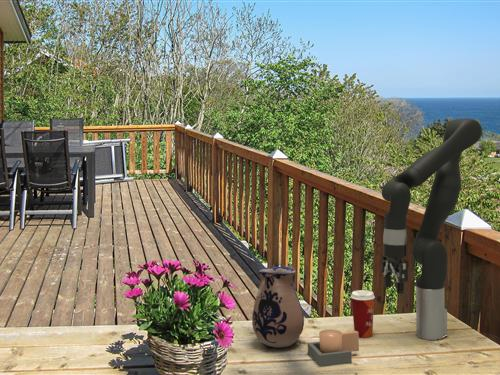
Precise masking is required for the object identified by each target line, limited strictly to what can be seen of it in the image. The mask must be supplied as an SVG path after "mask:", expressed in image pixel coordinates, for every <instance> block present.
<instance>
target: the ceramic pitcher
mask: <svg viewBox="0 0 500 375" xmlns="http://www.w3.org/2000/svg"><path fill="white" fill-rule="evenodd" d="M257 273H258V274H259V277H260V278H259V279H260V282H259V286H258V290H257V293H256V296H255V297H256V298H255V300H254V304H253V310H252V316H251V323H252V324H251V325H252V329H253V332H254V335H255V336H256V338H257V339H258V340H259V341H260V342H261V343H262V344H264V345H266V346H267V347H270V348H277V349H278V348H281V349H282V348H288V347H291V346H292V345H293V344H294V343H296V342H297V341H298V340H299V338H300V336H301V335H302V333H303V330H304V327H305V317H304V312H303V308H302V304H301V302H300V299H299V297H298V293H297V291H296V290H297V274H296V273H297V271H296V269H295V268H294V266H292V265H285V266H270V267H265V268H261V269H259V270H258V271H257Z"/></svg>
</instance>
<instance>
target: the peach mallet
mask: <svg viewBox="0 0 500 375" xmlns="http://www.w3.org/2000/svg"><path fill="white" fill-rule="evenodd" d="M318 334H319V339H318V340H319V341H318V342H320V352H321V353H322V354H324V353H332V352H340V351H348V350H350V351H351V353H353V352H359V351H360V348H359V347H360V346H359V345H360V341H359V339H360V338H359V332H357V331H354V330H351V331H343V332H342V331H340V330H337V329H332V328H331V329H330V328H329V329H324V330H320V331H319V333H318Z"/></svg>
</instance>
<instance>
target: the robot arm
mask: <svg viewBox="0 0 500 375" xmlns="http://www.w3.org/2000/svg"><path fill="white" fill-rule="evenodd" d="M482 135H483V128H482V125H481V123H480V122H479V121H478V120H476V119H473V118H456V119H453V120H451V121H450V122H448V124H447V125H446V127H445V129H444V134H443V139H442V143H441V144H440V145H438V146H437V147H435V148H433V149H432V150H430V151H428V152H426V153H424V154H423V155H421V156H420V157H418V158H416V160H415V161H414V162H412V163H411V164H410V165H409V166H408V167H407V168H406V169H405V170H404V171H401V172H400V173H399V174H396V175H395V176H394V177H392V178H391V179H389V180H388V181H387V182H385V184H384V185H383V187H382V188H381V196H382V198H383V199H384V201H386V202H388V203H390V204H389V209H388V210H387V211H386V212H385V214H384V218H383V219H384V224H383V225H384V226H383V228H384V229H383V236H382V240H383V241H382V254H383V255H382V256H381V265H380V266H381V270H380V271H381V273H382V274H383V277H384V288H392V283H393V282H392V280H393V279H392V278H393V277H395V280H396V285H395V286H396V293H397V295H400V294H401V295H402V294H404V288H405V287H404V286H405V282H408V281H409V276H408V275H409V271H408V270H409V268H408V267H409V266H408V265H409V264H408V263H407V262H405V263H404V262H403V259H404V258H406V257H407V246H408V245H407V240H408V239H407V238H408V236H407V216H408V215H407V214H408V212H409V208H410V205H411V195H412V192H411V189H412V188H418V187H420V186H421V185H422V184H424V183H425V182H426V181H427V180H428V179H429V178H430V177H432V176H433V175H434V178H433V182H432V184H431V188H430V192H429V195H428V200H427V202H426V206H425V210H424V213H423V218H422V221H421V224H420V226H419V228H418V230H417V234H416V236H415V238H414V242H413V245H412V248H411V257H412V258H413V260H414V261H415V262H416V263H417V264H420V265H421V274H420V275H418V276H417V277H416V278H415V311H416V312H415V314H416V315H415V317H416V318H415V319H416V322H415V324H416V326H415V328H416V334H415V336H416V337H418V338H420V339H422V340H428V341H438V340H437V339H439V340H441V339H440V338H442V337H443V336H445V335H447V336H448V309H447V308H446V307H445V282H446V280H447V276H448V252H447V248H446V247H447V246H445V245H444V244H443V242H440V241H438V239H439V235H440V231H441V229H442V226H443V224H444V223H445V222H446V220H447V219H448V218H449V216H450V215H451V214H452V212H453V211H454V209H455V208H456V206H457V203H458V200H459V197H460V192H461V189H462V177H461V169H460V160H461V157H462V154H463V152H464V151H466V150H467V149H469V148H470V147H472V146H474V145H475V144H476V143H478V142H479V141H480V140H481V138H482ZM392 275H393V277H392Z"/></svg>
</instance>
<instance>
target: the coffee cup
mask: <svg viewBox="0 0 500 375" xmlns="http://www.w3.org/2000/svg"><path fill="white" fill-rule="evenodd" d="M350 298H351V306H352V317H353V318H352V319H353V329H354V330H353V331H357V332H359V339H368V338H372V336H373V330H374V329H373V328H374V326H373V325H374V306H375V304H374V303H375V294H374V292H373V291H372V290H366V289H365V290H364V289H359V290H353V291H352V293H351V295H350Z"/></svg>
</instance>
